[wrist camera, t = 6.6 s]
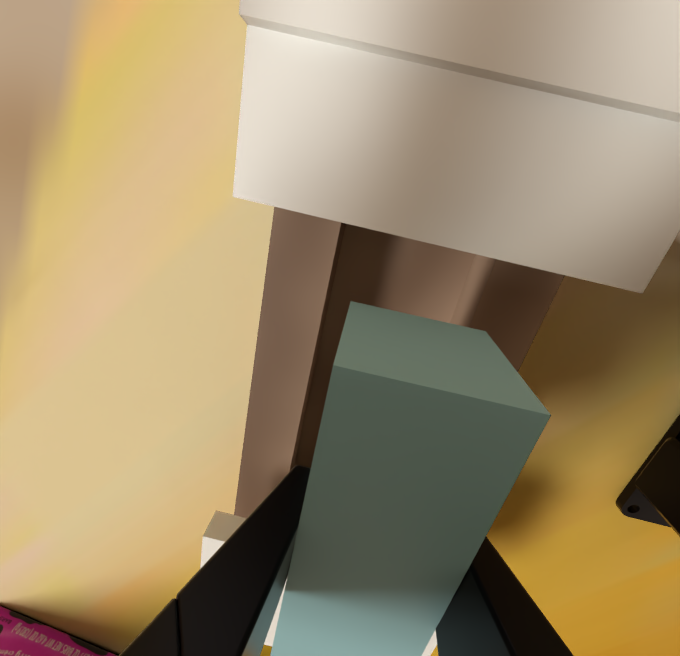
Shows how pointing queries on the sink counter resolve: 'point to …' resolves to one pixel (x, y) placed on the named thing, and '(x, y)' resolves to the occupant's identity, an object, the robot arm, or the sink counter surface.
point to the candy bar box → (39, 639)
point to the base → (444, 176)
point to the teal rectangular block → (402, 483)
